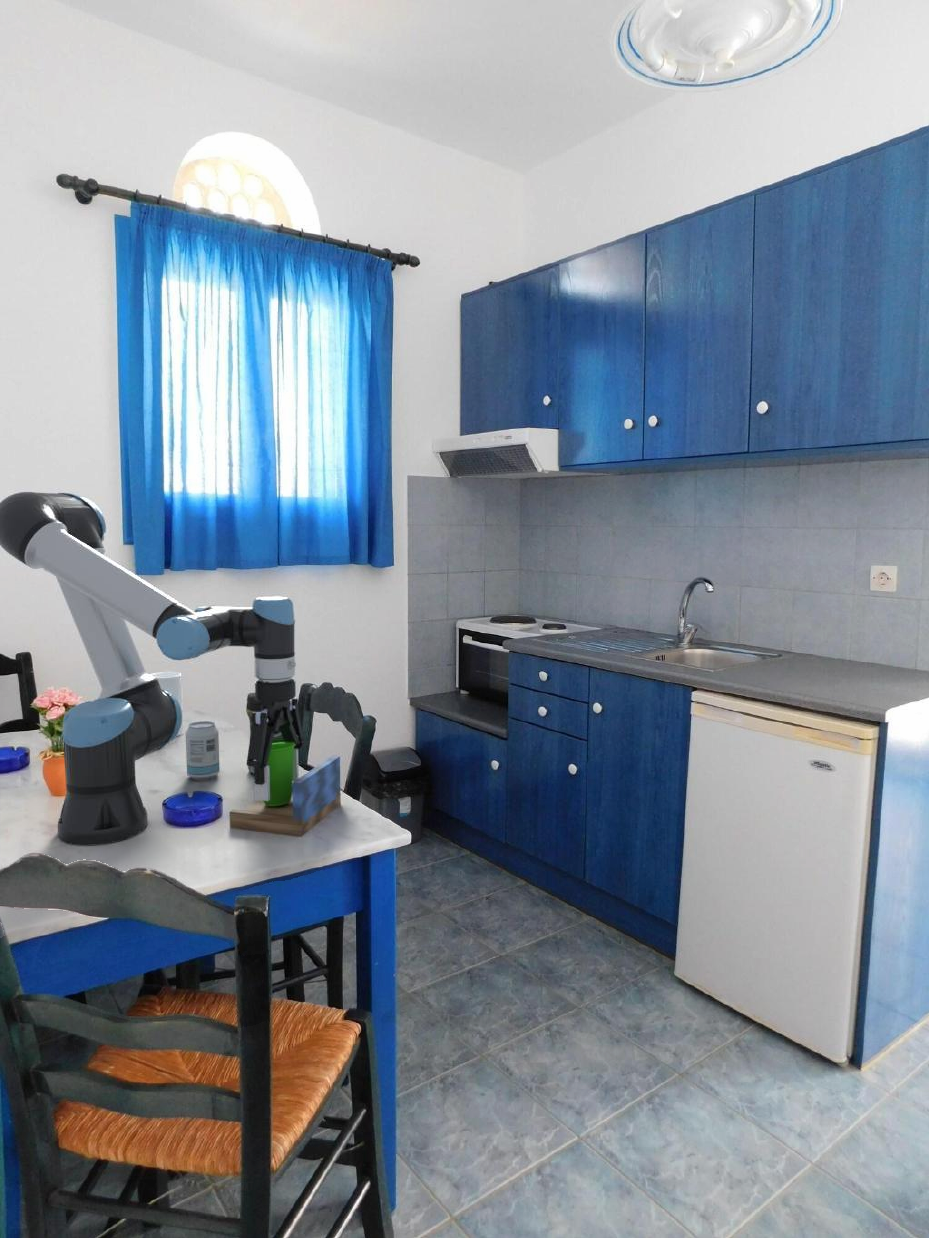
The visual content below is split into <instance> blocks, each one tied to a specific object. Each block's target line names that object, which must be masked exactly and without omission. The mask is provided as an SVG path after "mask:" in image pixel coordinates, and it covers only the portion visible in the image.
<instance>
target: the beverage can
mask: <svg viewBox="0 0 929 1238" xmlns="http://www.w3.org/2000/svg"><path fill="white" fill-rule="evenodd" d="M219 735H220V734H219V729H218V727H217V726H216V723H215V722H214V721H205V720H204V721H201V720H200V721H195V722H192V723H189V724H188V728H187V729H186V731H185V755H186V760H185V761H186V774H187V775H186V776H188V777H190V778H191V779H192V780H194V781H202V782H203V781H209V780H212V779H214V778H215V777H216V776H217V775H218V774H220V768H221V767H220V743H219V741H220V740H219Z"/></svg>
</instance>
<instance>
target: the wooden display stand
mask: <svg viewBox="0 0 929 1238" xmlns="http://www.w3.org/2000/svg"><path fill="white" fill-rule="evenodd" d="M290 800H291V801H290V802H289V803H286V804H283V805H278V806H266V805H265V803H264V801H263V800H255V801H253V802H252V803H250V804H248V805H247V806H245V807H244V808H242V809H235V808H233V809H231V810H230V811H229V828H230V829H234V830H235V829H236V830H242V831H252V832H253V831H254V832H261V833H269V834H276V835H285V836H294V837H303V836H304V835H306V833H308V832H309V831H310V830H311V829H312V828H313V827H314V826H316V825H317V824H318V823H319V822H321V821H322V820H323V819H324V818H326V817H327V816H328V815H330V814H331V813H332V812H334V810H336V809H337V808H339V806H340V805H341V804H342V803H341V801H342V800H341V756H340V755H332V756H330V757H329V758H327V759H325V760H324V761H322V762H321V763H320V764H318V765H316V766H315V767H314V768H312V769H310V770H309V771H308V772H306V773H305V774H303V775H301V776H300V777H299V778H298V779H297V780H295V781H292V797H291V799H290Z"/></svg>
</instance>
